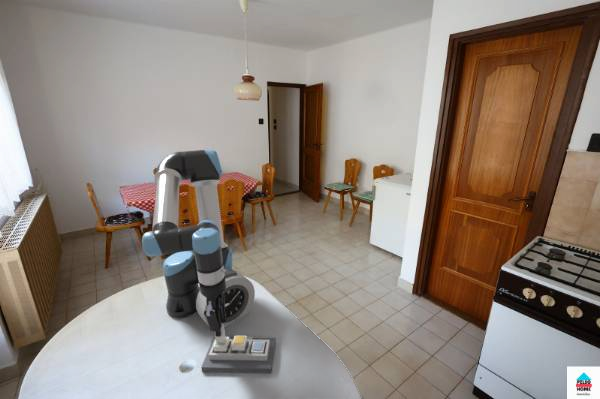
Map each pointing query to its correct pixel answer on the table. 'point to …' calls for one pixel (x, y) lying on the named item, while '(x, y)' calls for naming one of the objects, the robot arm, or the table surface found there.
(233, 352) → the keypad
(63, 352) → the table surface
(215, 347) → the key sage
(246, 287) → the alarm clock
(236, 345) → the key ochre
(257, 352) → the key blue
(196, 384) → the table surface
